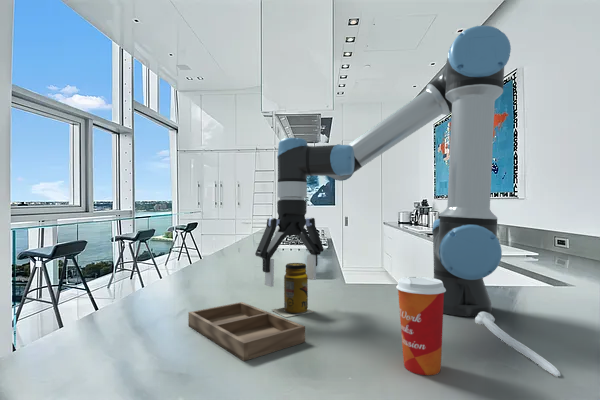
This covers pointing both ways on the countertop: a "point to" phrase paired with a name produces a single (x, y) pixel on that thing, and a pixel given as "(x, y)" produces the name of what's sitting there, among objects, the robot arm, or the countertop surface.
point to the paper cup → (421, 323)
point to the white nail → (514, 342)
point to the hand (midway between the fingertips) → (291, 282)
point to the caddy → (246, 329)
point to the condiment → (295, 291)
